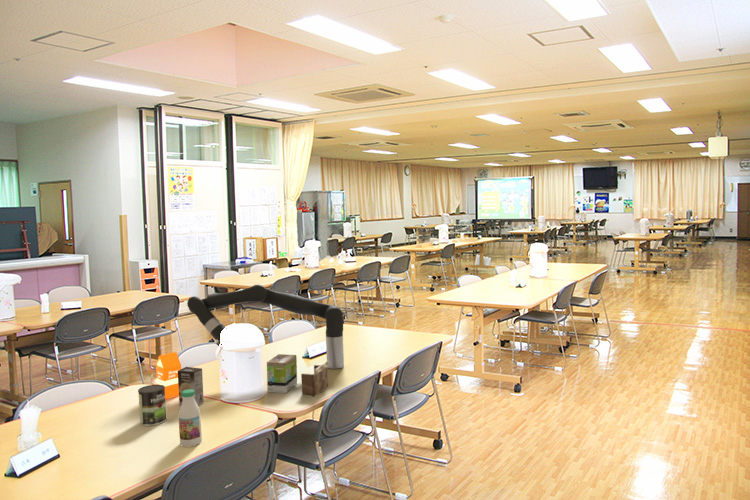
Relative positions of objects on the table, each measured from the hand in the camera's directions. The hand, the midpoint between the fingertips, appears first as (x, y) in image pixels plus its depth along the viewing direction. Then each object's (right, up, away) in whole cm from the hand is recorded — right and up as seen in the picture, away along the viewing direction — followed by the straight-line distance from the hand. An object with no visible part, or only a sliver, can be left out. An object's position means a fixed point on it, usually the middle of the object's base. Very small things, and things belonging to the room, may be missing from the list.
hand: (238, 353), depth 270 cm
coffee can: (-24, -20, -44) cm, 54 cm away
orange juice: (-29, -18, -12) cm, 36 cm away
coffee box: (-15, -18, -25) cm, 34 cm away
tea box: (+23, -16, -6) cm, 29 cm away
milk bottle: (-1, -21, -67) cm, 70 cm away
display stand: (+39, -15, -12) cm, 44 cm away
